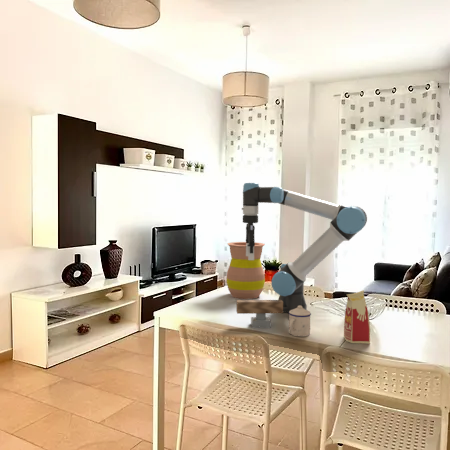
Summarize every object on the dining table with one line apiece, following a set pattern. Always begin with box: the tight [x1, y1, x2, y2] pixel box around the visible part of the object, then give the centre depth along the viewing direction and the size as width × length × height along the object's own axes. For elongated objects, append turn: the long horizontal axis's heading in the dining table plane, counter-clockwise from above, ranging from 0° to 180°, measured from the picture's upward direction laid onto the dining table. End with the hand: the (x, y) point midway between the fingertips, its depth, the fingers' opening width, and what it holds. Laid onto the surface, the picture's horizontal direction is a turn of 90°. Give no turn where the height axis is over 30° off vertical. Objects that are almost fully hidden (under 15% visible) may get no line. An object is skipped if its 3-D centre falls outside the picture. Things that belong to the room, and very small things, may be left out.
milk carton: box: [343, 289, 371, 345], centre depth 172 cm, size 9×9×20 cm
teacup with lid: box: [288, 305, 312, 337], centre depth 178 cm, size 12×9×12 cm
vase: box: [226, 241, 266, 300], centre depth 247 cm, size 22×22×30 cm
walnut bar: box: [236, 299, 284, 315], centre depth 190 cm, size 20×4×5 cm, turn 93°
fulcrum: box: [250, 313, 272, 329], centre depth 190 cm, size 8×6×6 cm
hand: (249, 258), depth 211 cm, fingers open, 13 cm apart
